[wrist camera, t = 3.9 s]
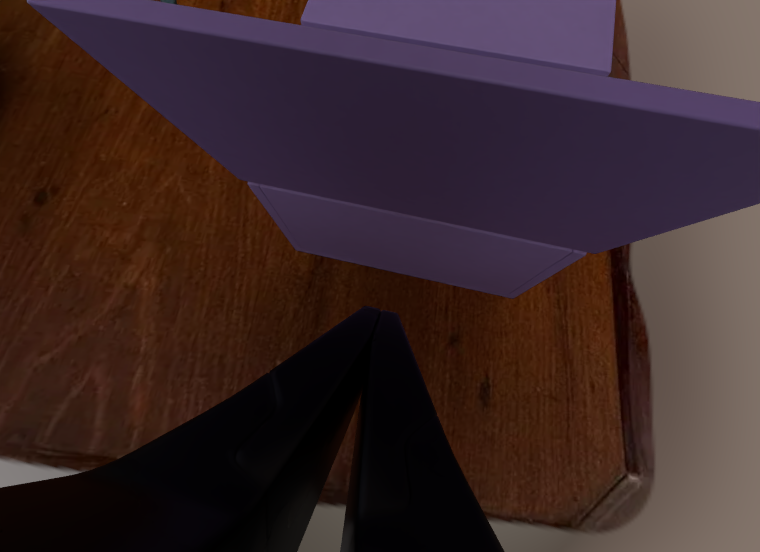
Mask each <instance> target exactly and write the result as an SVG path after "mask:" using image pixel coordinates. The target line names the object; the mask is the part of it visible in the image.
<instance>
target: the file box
mask: <svg viewBox="0 0 760 552" xmlns="http://www.w3.org/2000/svg"><path fill="white" fill-rule="evenodd" d="M615 7H616V0H308V2H307V5H306V8H305V10H304V13H303V15H302V18H301V24H302V26H307V27H313V28H319V29H325V30H331V31H337V32H343V33H349V34H355V35H361V36H367V37H373V38H379V39H385V40H391V41H397V42H403V43H409V44H415V45H421V46H427V47H433V48H439V49H445V50H451V51H457V52H463V53H469V54H475V55H481V56H487V57H493V58H499V59H505V60H511V61H517V62H523V63H529V64H535V65H541V66H547V67H553V68H559V69H565V70H570V71H576V72H582V73H588V74H594V75H600V76H606V77H607V76H608V75H609V73H610V72H611V62H612V49H613V35H614V21H615ZM248 185H249V187H250V188H251V190H252V191H253V192H254V194H255V195H256V196H257V198H258V199H259V200H260V202H261V203H262V205H263V206H264V207H265V209H266V210H267V211H268V213H269V214H270V215H271V217H272V218H273V220H274V221H275V222H276V224H277V225H278V226H279V228H280V229H281V231H282V232H283V233H284V235H285V236H286V237H287V239H288V240H289V241H290V243H291V244H292V246H293V247H294V248H295V250H297V251H302V252H306V253H311V254H315V255H320V256H324V257H329V258H333V259H338V260H342V261H347V262H351V263H355V264H360V265H364V266H369V267H373V268H378V269H382V270H387V271H391V272H396V273H400V274H405V275H409V276H414V277H418V278H423V279H427V280H432V281H436V282H441V283H445V284H449V285H454V286H458V287H463V288H467V289H472V290H476V291H481V292H485V293H490V294H494V295H499V296H503V297H508V298H512V299H513V298H515V297H517V296H518V295H520V294H522V293H523V292H525V291H527V290H528V289H530V288H532V287H533V286H535V285H537V284H538V283H540V282H542V281H543V280H545V279H547V278H548V277H550V276H552V275H553V274H555V273H557V272H558V271H560V270H562V269H563V268H565V267H567V266H568V265H570V264H572V263H573V262H575V261H577V260H578V259H580V258H582V257H583V256H585V255H586V252H584V251H579V250H575V249H570V248H565V247H560V246H556V245H551V244H546V243H541V242H536V241H532V240H527V239H522V238H517V237H512V236H508V235H503V234H498V233H493V232H488V231H484V230H479V229H474V228H469V227H465V226H460V225H455V224H450V223H445V222H441V221H436V220H431V219H426V218H421V217H417V216H412V215H407V214H402V213H398V212H393V211H388V210H383V209H378V208H374V207H369V206H364V205H359V204H354V203H350V202H345V201H340V200H335V199H330V198H326V197H321V196H316V195H311V194H307V193H302V192H297V191H292V190H287V189H283V188H278V187H273V186H268V185H263V184H259V183H254V182H249V181H248Z"/></svg>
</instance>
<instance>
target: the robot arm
mask: <svg viewBox="0 0 760 552" xmlns="http://www.w3.org/2000/svg"><path fill="white" fill-rule="evenodd" d="M361 392H362V394H361ZM360 395H361V400H360V406H359V413H358V421H357V429H356V436H355V444H354V452H353V459H352V467H351V475H350V482H349V490H348V497H347V505H346V513H345V521H344V528H343V536H342V543H341V551H340V552H504V550H503V548H502V546H501V544H500V542H499V541H498V539H497V537H496V535H495V533H494V531H493V529H492V528H491V526H490V524H489V522H488V520H487V518H486V516H485V514H484V512H483V510H482V509H481V507H480V505H479V503H478V501H477V499H476V497H475V495H474V494H473V492H472V490H471V488H470V486H469V484H468V482H467V480H466V478H465V476H464V474H463V472H462V470H461V468H460V466H459V464H458V462H457V460H456V458H455V456H454V454H453V452H452V449H451V447H450V445H449V442H448V440H447V438H446V435H445V433H444V430H443V428H442V425H441V423H440V420H439V418H438V416H437V413H436V410H435V408H434V405H433V403H432V400H431V397H430V395H429V392H428V390H427V387H426V385H425V382H424V379H423V377H422V374H421V372H420V369H419V367H418V364H417V361H416V359H415V356H414V354H413V351H412V349H411V346H410V344H409V341H408V338H407V336H406V333H405V331H404V328H403V326H402V323H401V320H400V318H399V315H398V314H397V313H395V312H391V311H386V310H382V311H380V309H378V308H373V307H369V306H364V307H362V308H361V309H359V310H358V311H356V312H355V313H354V314H352V315H351V316H349V317H348V318H346V319H345V320H343V321H342V322H340V323H339V324H338V325H336V326H335V327H333V328H332V329H330V330H329V331H327V332H326V333H325V334H323V335H322V336H320V337H319V338H317V339H316V340H314V341H313V342H311V343H310V344H309V345H307V346H306V347H304V348H303V349H301V350H300V351H298V352H297V353H295V354H294V355H293V356H291V357H290V358H288V359H287V360H285V361H284V362H282V363H281V364H279V365H278V366H277V367H275V368H274V369H272V370H271V371H270V372H269V373H266V374H265V375H263V376H262V377H260V378H259V379H257V380H256V381H254V382H253V383H251V384H250V385H248V386H247V387H245V388H244V389H242V390H241V391H239V392H238V393H236V394H234V395H233V396H231V397H230V398H228V399H226V400H224V401H223V402H221V403H219V404H218V405H216V406H214V407H212V408H211V409H209V410H207V411H206V412H204V413H202V414H200V415H198V416H197V417H195V418H193V419H191V420H189V421H187V422H186V423H184V424H182V425H180V426H178V427H177V428H175V429H173V430H171V431H169V432H168V433H166V434H164V435H162V436H160V437H158V438H157V439H155V440H153V441H151V442H149V443H148V444H146V445H144V446H142V447H140V448H138V449H137V450H135V451H133V452H131V453H129V454H127V455H125V456H123V457H121V458H119V459H117V460H115V461H113V462H110V463H108V464H106V465H103V466H100V467H98V468H95V469H92V470H89V471H86V472H82V473H78V474H75V475H70V476H66V477H59V478H54V479H48V480H42V481H37V482H31V483H25V484H19V485H14V486H8V487H2V488H0V552H297V551H298V548H299V546H300V543H301V541H302V538H303V536H304V533H305V531H306V528H307V526H308V524H309V521H310V519H311V516H312V514H313V511H314V509H315V507H316V504H317V502H318V499H319V497H320V494H321V492H322V489H323V487H324V485H325V482H326V480H327V477H328V475H329V472H330V470H331V467H332V465H333V463H334V460H335V458H336V455H337V453H338V450H339V448H340V445H341V443H342V440H343V438H344V436H345V433H346V431H347V428H348V426H349V423H350V421H351V418H352V416H353V414H354V411H355V409H356V406H357V404H358V401H359V398H360Z"/></svg>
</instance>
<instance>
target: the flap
mask: <svg viewBox="0 0 760 552" xmlns="http://www.w3.org/2000/svg"><path fill="white" fill-rule="evenodd" d="M27 2H28V4H30V5H31V6H32V7H33V8H34V9H36V10H37V11H38V12H39V13H40V14H42V15H43V16H44V17H45V18H46V19H48V20H49V21H50V22H51V23H52V24H54V25H55V26H56V27H57V28H58V29H60V30H61V31H62V32H63V33H64V34H66V35H67V36H68V37H69V38H70V39H72V40H73V41H74V42H75V43H76V44H78V45H79V46H80V47H81V48H82V49H84V50H85V51H86V52H87V53H88V54H90V55H91V56H92V57H93V58H94V59H96V60H97V61H98V62H99V63H100V64H102V65H103V66H104V67H105V68H106V69H108V70H109V71H110V72H111V73H112V74H114V75H115V76H116V77H117V78H118V79H120V80H121V81H122V82H123V83H124V84H126V85H127V86H128V87H129V88H130V89H132V90H133V91H134V92H135V93H136V94H138V95H139V96H140V97H141V98H142V99H144V100H145V101H146V102H147V103H148V104H150V105H151V106H152V107H153V108H154V109H156V110H157V111H158V112H159V113H160V114H162V115H163V116H164V117H165V118H166V119H168V120H169V121H170V122H171V123H172V124H174V125H175V126H176V127H177V128H178V129H180V130H181V131H182V132H183V133H184V134H186V135H187V136H188V137H189V138H190V139H192V140H193V141H194V142H195V143H196V144H198V145H199V146H200V147H201V148H202V149H204V150H205V151H206V152H207V153H208V154H210V155H211V156H212V157H213V158H214V159H216V160H217V161H218V162H219V163H220V164H222V165H223V166H224V167H225V168H226V169H228V170H229V171H230V172H231V173H232V174H234V175H235V176H236V177H237V178H238V179H240V180H244V181H249V182H254V183H259V184H263V185H268V186H273V187H278V188H283V189H287V190H292V191H297V192H302V193H307V194H311V195H316V196H321V197H326V198H330V199H335V200H340V201H345V202H350V203H354V204H359V205H364V206H369V207H374V208H378V209H383V210H388V211H393V212H398V213H402V214H407V215H412V216H417V217H421V218H426V219H431V220H436V221H441V222H445V223H450V224H455V225H460V226H465V227H469V228H474V229H479V230H484V231H488V232H493V233H498V234H503V235H508V236H512V237H517V238H522V239H527V240H532V241H536V242H541V243H546V244H551V245H556V246H560V247H565V248H570V249H575V250H579V251H584V252H589V253H594V254H596V253H599V252H603V251H606V250H609V249H613V248H616V247H619V246H622V245H626V244H629V243H632V242H635V241H639V240H642V239H645V238H648V237H652V236H655V235H658V234H661V233H665V232H668V231H671V230H674V229H678V228H681V227H684V226H688V225H691V224H694V223H697V222H700V221H704V220H707V219H710V218H714V217H717V216H720V215H723V214H727V213H730V212H733V211H737V210H740V209H743V208H746V207H750V206H753V205H756V204H759V203H760V102H756V101H750V100H744V99H737V98H732V97H726V96H719V95H714V94H708V93H702V92H696V91H690V90H684V89H678V88H671V87H666V86H660V85H654V84H648V83H642V82H636V81H630V80H624V79H618V78H612V77H606V76H600V75H594V74H588V73H582V72H576V71H570V70H565V69H559V68H553V67H547V66H541V65H535V64H529V63H523V62H517V61H511V60H505V59H499V58H493V57H487V56H481V55H475V54H469V53H463V52H457V51H451V50H445V49H439V48H433V47H427V46H421V45H415V44H409V43H403V42H397V41H391V40H385V39H379V38H373V37H367V36H361V35H355V34H349V33H343V32H337V31H331V30H325V29H319V28H313V27H307V26H302V25H296V24H290V23H284V22H278V21H272V20H266V19H260V18H254V17H248V16H242V15H236V14H230V13H224V12H218V11H212V10H206V9H200V8H194V7H188V6H182V5H176V4H170V3H164V2H158V1H152V0H27Z"/></svg>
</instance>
